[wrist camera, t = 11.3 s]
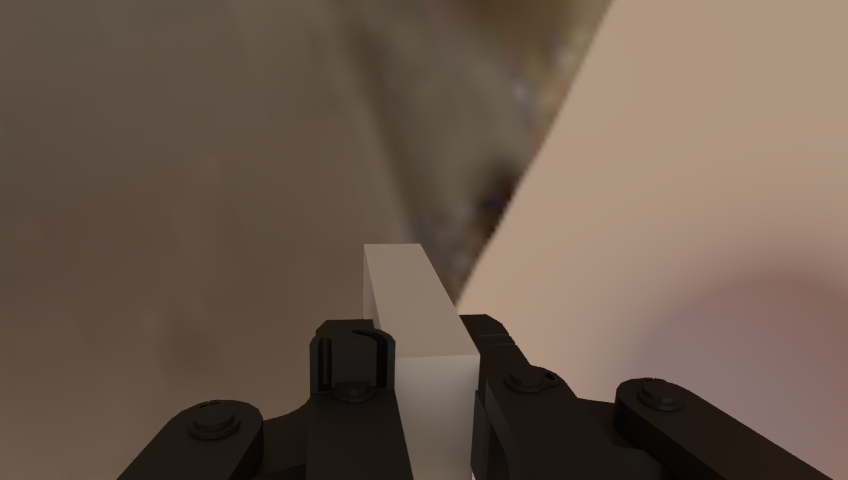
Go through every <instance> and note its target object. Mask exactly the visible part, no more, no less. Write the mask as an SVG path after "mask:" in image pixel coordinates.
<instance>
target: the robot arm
mask: <svg viewBox="0 0 848 480" xmlns="http://www.w3.org/2000/svg"><path fill="white" fill-rule="evenodd" d="M472 471H473V474H474V477H475V479H476V480H833V479H831V478H829V477H828V476H826V475H824V474H823V473H821V472H820V471H818V470H817V469H815V468H813V467H812V466H810V465H809V464H807V463H805V462H804V461H802V460H800V459H799V458H797V457H796V456H794V455H792V454H791V453H789V452H787V451H786V450H784V449H783V448H781V447H779V446H778V445H776V444H774V443H773V442H771V441H770V440H768V439H766V438H765V437H763V436H762V435H760V434H758V433H757V432H755V431H753V430H752V429H750V428H749V427H747V426H746V425H744V424H742V423H741V422H739V421H738V420H736V419H734V418H733V417H731V416H729V415H728V414H726V413H725V412H723V411H721V410H720V409H718V408H717V407H715V406H713V405H712V404H710V403H709V402H707V401H705V400H704V399H702V398H700V397H699V396H697V395H696V394H694V393H692V392H691V391H689V390H687V389H685V388H683V387H680V386H678V385H676V384H673V383H669V382H666V381H665V380H662V379H657V378H654V379H653V378H640V379H630V380H628V381H625V382H622V383H621V384H620V385H619V386H618V388H617V390H616V397H615V403H609V402H602V401H594V400H586V399H581V398H577V397H576V395H575V394H574V393H573V391H572V390H571V389H570V387H569V386H568V385H567V383H566V382H565V381H564V380H563V379H562V378H561V377H559V376H558V375H557V374H556V373H554V372H552V371H549V370H547V369H545V368H542V367H537V366H533V365H530V363H529V362H528V361H527V359H526V358H525V356H524V355H523V353H522V352H521V351H520V349H519V348H518V346H517V345H515V342H514V341H513V339H512V338H511V336H509V333H508V332H507V330H506V329H505V328H504V326H503V325H502V323H500V322H498V321H497V320H495V319H493V318H492V317H490V316H488V315H486V314H482V315H481V314H480V315H479V314H478V315H458V313H457V311H456V309H455V307H454V305H453V304H452V302H451V300H450V298H449V296H448V294H447V292H446V291H445V289H444V287H443V285H442V283H441V281H440V280H439V278H438V276H437V274H436V272H435V270H434V268H433V267H432V265H431V263H430V261H429V259H428V257H427V256H426V254H425V252H424V250H423V248H422V246H421V244H364V280H363V319H356V320H326V321H325V322H324V323H323V324H322V325H321V326H320V327H319V328H318V329H317V330H316V336H315V337H313V339H312V341H311V343H310V398H309V400H308V401H307V402H306V403H305V404H304V405H303V406H301V407H300V408H299V409H297V410H295V411H293V412H291V413H289V414H286V415H283V416H280V417H277V418H273V419H269V420H265V421H263V417H262V415H261V413H260V411H259V409H257V408H256V407H254V406H252V405H250V404H249V403H245V402H240V401H235V400H212V401H210V402H208V401H207V402H203V403H199V404H197V405H195V406H193V407H190V408H188V409H186V410H183V411H181V412H180V413H179V414H177V415H176V416H175V417H173V418H172V419H171V420H170V421H169V422H168V423H167V424H166V425H165V426H164V427H163V428H162V429H161V431H160V432H159V433H158V434H157V435H156V436H155V437H154V438H153V439H152V441H151V442H150V443H149V444H148V445H147V446H146V447H145V448H144V449H143V451H142V452H141V453H140V454H139V455H138V456H137V457H136V458H135V459H134V461H133V462H132V463H131V464H130V465H129V466H128V467H127V468H126V469H125V471H124V472H123V473H122V474H121V475H120V476H119V477H118V478H117V480H472Z"/></svg>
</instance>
